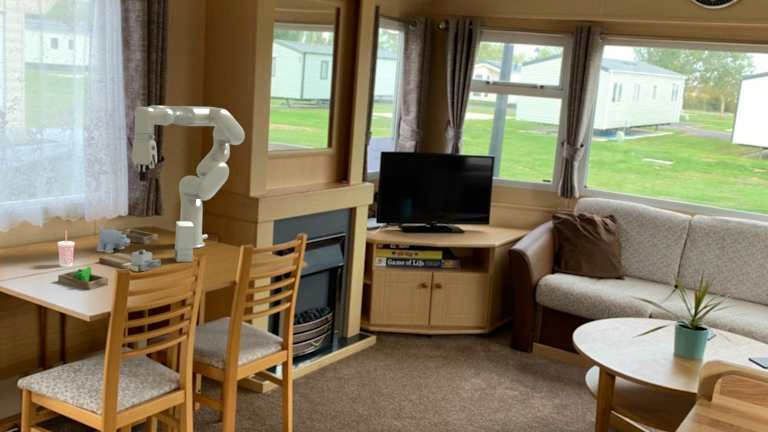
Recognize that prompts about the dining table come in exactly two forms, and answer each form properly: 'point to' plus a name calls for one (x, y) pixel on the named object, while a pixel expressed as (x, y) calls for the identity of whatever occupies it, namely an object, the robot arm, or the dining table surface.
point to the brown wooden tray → (95, 281)
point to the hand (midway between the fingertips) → (143, 180)
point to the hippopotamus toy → (112, 240)
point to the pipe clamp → (83, 274)
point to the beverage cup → (66, 252)
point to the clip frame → (140, 236)
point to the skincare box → (184, 241)
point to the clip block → (140, 257)
